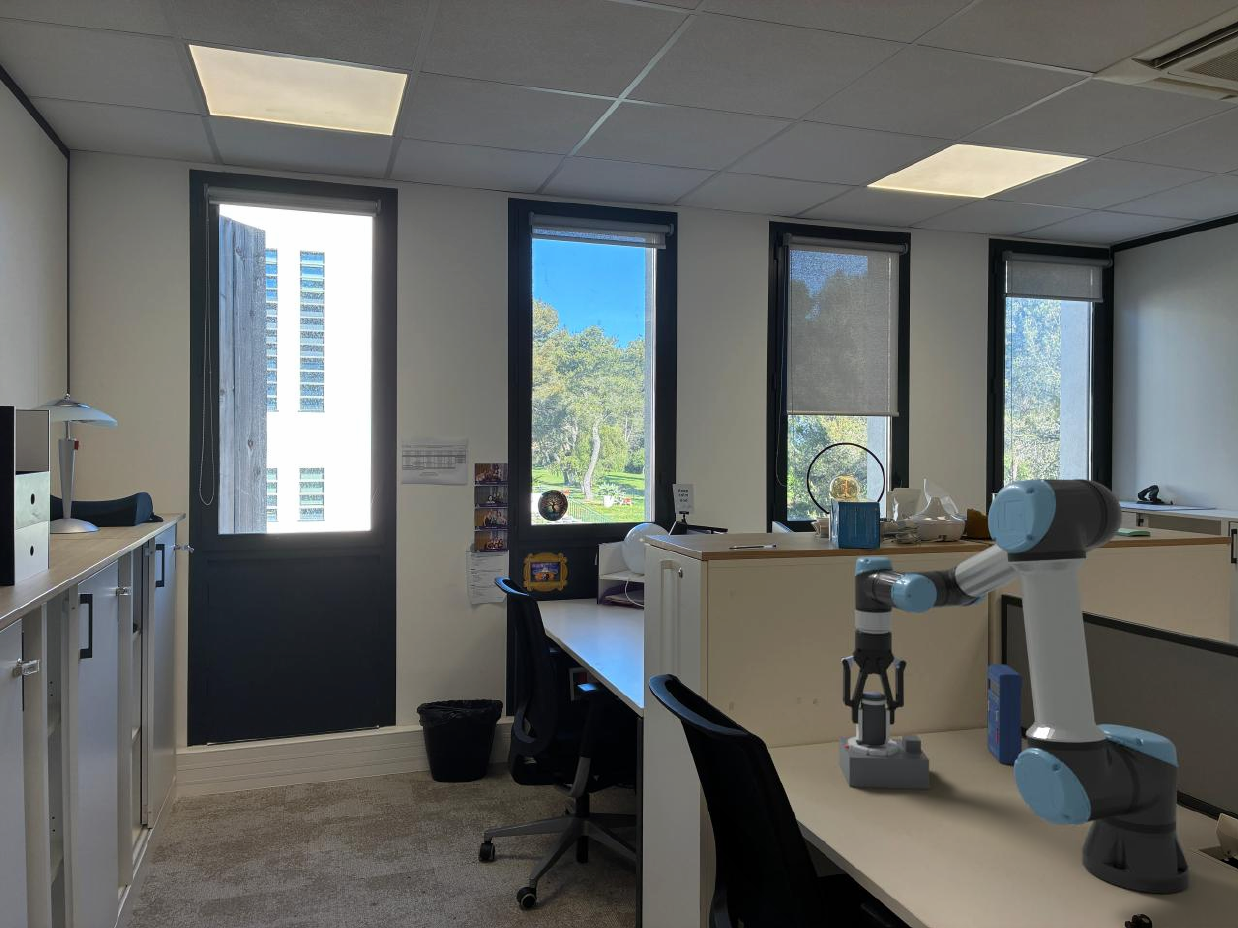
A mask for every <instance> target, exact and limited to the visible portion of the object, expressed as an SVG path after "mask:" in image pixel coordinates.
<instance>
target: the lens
mask: <svg viewBox="0 0 1238 928" xmlns="http://www.w3.org/2000/svg"><path fill="white" fill-rule="evenodd" d="M886 704H887V703H886V698H885V695H884V693H881V692H876V691H863V694H862V697H861V701H860V707H861V709H862V741H861V742H862V743H863V744H866V745H871V746H880V745H884V744H885V707H886Z"/></svg>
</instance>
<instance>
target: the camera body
mask: <svg viewBox="0 0 1238 928" xmlns="http://www.w3.org/2000/svg"><path fill="white" fill-rule="evenodd" d="M838 749H839V750H838V765H839V767H840V770H841V772H842V774H843V775H844V778H845V780H846V782H847V784H848V786H849V787H857V788H865V787H866V788H885V789H887V788H889V789H890V788H891V789H917V790H918V789H920V790H921V789H922V790H929V789H930V759H929V758H928V755H926V753H924V751H923V750H922V740H921V739H920V737H919V736H918V735H917V734H902V735H901V738H890V741H885V744H884V745H880V746H871V745H866V744H863V743H862V742H861V740H858V738H857V737H856V736H853V737H842V736H841V737H839V739H838Z"/></svg>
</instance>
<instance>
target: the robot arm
mask: <svg viewBox="0 0 1238 928" xmlns="http://www.w3.org/2000/svg"><path fill="white" fill-rule="evenodd" d="M987 521H988V522H987V525H988V531H989V534H990V537H991V539H992V541H995V544H993V545H992V546H990V547H988V548H986V549H984V550H982V551H980V552H979V553H977V554H975V555H973V556H971V557H969V558H968V559H965V560H964V561H962V562H961V563H959V564H957V565H955V566H953V567H950V568H949V569H943V570H942V569H941V570H928V571H927V570H926V571H909V572H908V571H899V570H893V569H894V568H893V562H892V560H891V558H889V557H885V556H861V557H858V558H857V560H855V561H856V562H855V572H854V573H855V574H854V596H855V597H854V599H855V600H854V601H855V602H854V603H855V604H854V605H855V606H854V607H855V615H854V619H855V620H854V626H855V628H857V629H855V630H854V651H853V653H852V654H851V656H850V655H849V656H848V657H844V656H842V657H841V658H840V663H841V666H842V702H843V704H844V705H845V706H846V707H850V708H851V722H852V724H856V726H855V727H856V728H855V729H856V731H855V734H856V735H855V737H857V738H858V740H861V741H862V709H861V697H862V694H863V693H864V690H865V685H866V681H867V680H868V677H869V675H874V674H875V675H878V676H879V679H880V680H879V681H880V684H881V687H882V690H883V694H884V695H885V698H886V703H885V704H886V705H887V706H885V741H890V739H891V738H890V736H891V735H890V733H891V725H892V726H893V725H894V724H895V721H896V720H895V717H896V716H895V715H896V713H895V711H896V710H897V709H898V708H903V707H904V705H905V704H904V703H905V702H904V701H905V700H904V698H905V697H904V695H905V689H904V688H905V686H904V685H905V684H904V683H905V682H904V681H905V680H904V679H905V678H904V675H905V673H904V672H905V669H906V667H907V662H906V661H905V660H904V658H903V657H900V658H899V657H895V656H894V653H893V649H892V648H893V647H892V646H893V645H892V644H893V639H892V636H893V634H892V632H891V630H892V629H893V627H892V626H893V623H892V622H893V621H892V619H893V617H892V615H893V614H892V612H893V610H892V609H897V610H901V611H903V612H906V613H909V614H911V613H914V614H924V613H926V612H927V611H929V610H930V609H937V608H950V607H952V608H953V607H969V606H973V605H978V604H981V603H982V602H983V601H984V599H985V597H986V596H987V594H988V593H990V592H993V591H994V590H996V589H998V588H1001V587H1002V586H1006V585H1007V584H1009V583H1012V582H1014V581H1017V580H1018V579H1019V583H1020V592H1021V593H1020V594H1021V600H1022V611H1023V612H1022V613H1023V621H1024V629H1025V640H1026V647H1027V656H1028V657H1027V658H1028V668H1029V675H1030V676H1029V677H1030V687H1031V696H1032V703H1033V704H1032V705H1033V714H1034V715H1033V716H1034V723H1033V724H1032V725H1031V726H1030V727H1029V728H1028V729H1027V730H1026V732H1025V736H1026V745H1027V748H1026V749H1024V750H1022V752H1021V753H1020V754H1019V755H1018V759H1016V760H1015V764H1013V777H1014V782H1015V786H1016V788H1017V790H1018V792H1019V795H1020V796H1021V798H1022V800H1023V801H1024V803H1025V804H1026V805H1028V807H1029V809H1030V810H1031V811H1032V813H1034V814H1035V815H1036V816H1038V818H1040V819H1041V820H1043V821H1045V822H1047V823H1049V824H1052V825H1056V826H1066V825H1067V826H1069V825H1074V826H1077V825H1083V824H1086V823H1088V822H1089V823H1090V822H1091V825H1090V827H1089V830H1088V833H1087V836H1086V837H1085V840H1084V843H1083V845H1082V851H1081V854H1082V855H1081V856H1082V857H1081V858H1082V859H1081V860H1082V861H1081V862H1082V865H1083V866H1084V868H1085V869H1086V870H1087V871H1088V872H1089V873H1091V874H1092V875H1094V876H1095V877H1097V878H1099V879H1101V880H1103V881H1105V882H1107V883H1109V884H1112V885H1114V886H1118V887H1121V888H1124V889H1129V890H1132V891H1137V892H1143V893H1149V894H1151V893H1152V894H1171V893H1172V894H1175V893H1180V892H1181V891H1184V890H1186V889H1187V888H1188V887H1189V885H1190V868H1189V865H1188V862H1187V859H1186V856H1185V852H1184V850H1183V847H1182V845H1181V841H1180V839H1179V836H1178V832H1177V815H1178V814H1177V809H1178V808H1177V804H1178V803H1177V801H1178V798H1177V796H1178V778H1177V777H1178V768H1179V763H1178V759H1177V748H1176V745H1175V744H1174V742H1172V741H1171V740H1170V739H1169V738H1167V737H1165V736H1163V735H1161V734H1157V733H1154V732H1151V731H1149V730H1148V731H1147V730H1145V729H1144V730H1143V729H1140V728H1135V727H1131V726H1125V725H1119V724H1112V723H1111V724H1110V723H1109V724H1108V723H1107V724H1105V723H1104V724H1103V723H1102V724H1097V723H1096V721H1095V712H1094V704H1093V694H1092V688H1091V677H1090V668H1089V661H1088V652H1087V643H1086V636H1085V635H1086V634H1085V627H1084V619H1083V618H1084V617H1083V610H1082V609H1083V608H1082V601H1081V592H1080V583H1079V574H1078V571H1079V569H1080V568H1081V566H1083V565H1084V564H1085V563H1086V561H1087V553H1089V552H1091V551H1093V550H1095V549H1097V548H1100V547H1103V546H1104V545H1106V544H1107V543H1109V542H1110V541H1112V540H1113V539H1114V538H1115V537H1116V535H1117V533H1118V532H1119V530H1120V528H1121V525H1122V523H1123V513H1122V507H1121V504H1120V502H1119V499H1118V497H1116V495H1115V494H1114V493H1113V492H1112V490H1111V489H1109V488H1108V487H1106V486H1105V485H1103V484H1102V483H1099V482H1096V481H1093V480H1091V479H1083V478H1081V479H1079V478H1074V479H1057V478H1056V479H1054V478H1053V479H1051V478H1048V479H1045V478H1044V479H1043V478H1041V479H1040V478H1035V479H1033V478H1031V479H1028V480H1027V479H1026V480H1018V481H1013V482H1010V483H1008V484H1007V485H1005V486H1004V487H1002V488H1001V489H1000V490H999V492H998V493H997V495H996V497H994V498H993V500H992V502H991V504H990V507H989V511H988V519H987ZM854 662H855V663H856V665H857V667H858V668H859V669H858V670H859V671H858V676H857V678H856V679H857V680H856V683H855V687H854V690H853V695H852V699H851V689H852V687H851V686H852V685H851V684H852V683H851V679H852V677H851V675H852V671H851V668H852V667H853V663H854ZM892 663H893V667H894V671H895V672H894V673H895V674H894V681H895V682H894V683H895V684H894V686H895V688H894V689H895V690H894V692H895V693H894V695H895V696H894V697H895V699H894V697H893V693H892V690H891V685H890V682H889V676H888V673H887V670H888V668H889V667H890V666H891V665H892Z"/></svg>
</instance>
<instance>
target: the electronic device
mask: <svg viewBox="0 0 1238 928" xmlns="http://www.w3.org/2000/svg"><path fill="white" fill-rule="evenodd" d="M1022 689H1023V676H1022V675H1021V674H1020V673H1019V672H1017V671H1016V670H1014V669H1013V668H1012V667H1011V666H1009V665H1007V664H990V665H988V666H987V750H988V751H989V752H990V753H991V754H992V755H993V756H994V757H995V759H996V760H997V761H999V762H1000V763H1001V764H1003V765H1014V764H1015V760H1016V759H1018V755H1019V754H1020V753H1021V752H1023V750H1022V749H1023V748H1022V747H1023V743H1022V742H1023V733H1022Z"/></svg>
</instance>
